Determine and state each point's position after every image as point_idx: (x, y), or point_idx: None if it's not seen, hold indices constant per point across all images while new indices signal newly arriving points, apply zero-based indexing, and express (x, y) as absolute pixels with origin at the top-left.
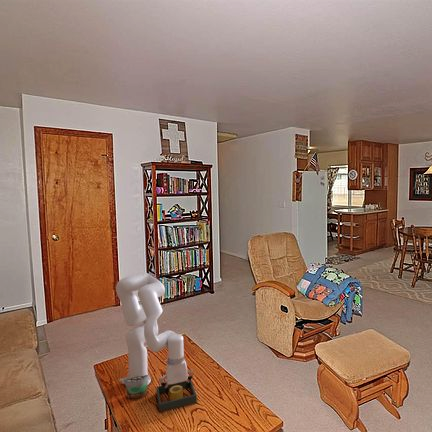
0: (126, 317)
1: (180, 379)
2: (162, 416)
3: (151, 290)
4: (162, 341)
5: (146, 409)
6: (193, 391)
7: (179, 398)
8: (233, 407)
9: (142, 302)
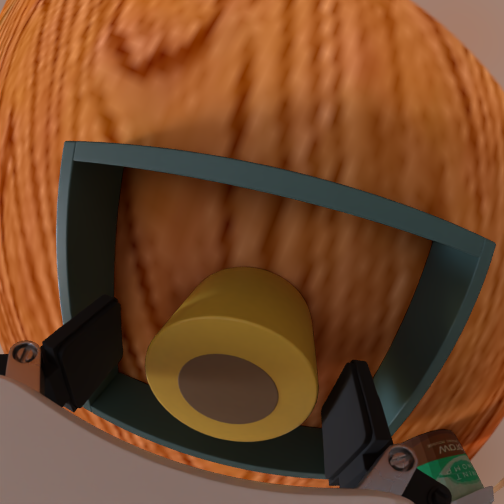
0: None
1: (59, 486)
2: (448, 150)
3: None
4: None
5: (480, 321)
6: (67, 234)
7: (229, 276)
8: (25, 33)
9: None
